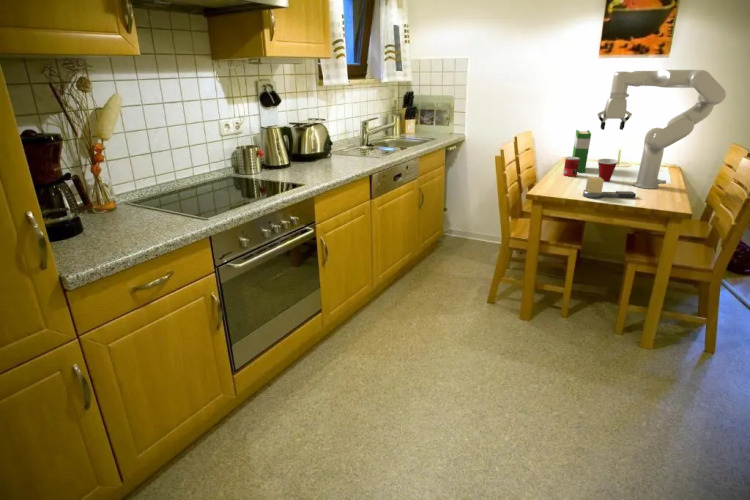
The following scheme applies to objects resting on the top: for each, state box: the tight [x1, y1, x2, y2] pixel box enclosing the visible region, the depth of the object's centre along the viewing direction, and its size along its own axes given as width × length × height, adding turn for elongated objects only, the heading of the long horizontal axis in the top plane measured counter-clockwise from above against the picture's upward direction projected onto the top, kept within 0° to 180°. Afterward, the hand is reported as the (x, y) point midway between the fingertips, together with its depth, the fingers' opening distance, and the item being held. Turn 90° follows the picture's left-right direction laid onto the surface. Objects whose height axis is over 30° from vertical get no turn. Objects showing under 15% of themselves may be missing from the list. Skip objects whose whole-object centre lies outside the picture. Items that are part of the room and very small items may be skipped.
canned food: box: [562, 156, 580, 178], centre depth 275 cm, size 8×8×11 cm
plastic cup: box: [597, 158, 619, 183], centre depth 262 cm, size 11×11×12 cm
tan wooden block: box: [585, 176, 604, 193], centre depth 231 cm, size 6×6×7 cm
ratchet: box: [582, 189, 637, 200], centre depth 231 cm, size 24×9×6 cm, turn 83°
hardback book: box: [571, 129, 592, 174], centre depth 288 cm, size 18×7×24 cm, turn 161°
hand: (611, 129), depth 246 cm, fingers open, 9 cm apart
